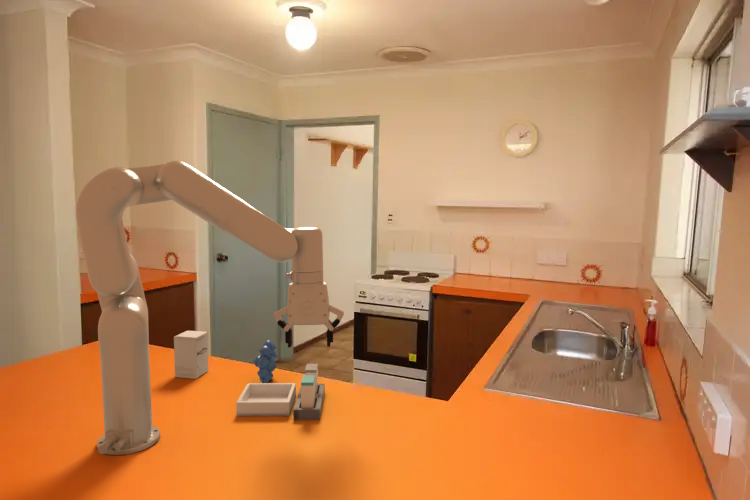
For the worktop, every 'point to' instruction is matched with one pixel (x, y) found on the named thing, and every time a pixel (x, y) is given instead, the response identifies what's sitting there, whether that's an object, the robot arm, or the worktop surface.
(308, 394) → the block
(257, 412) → the tray
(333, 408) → the worktop surface
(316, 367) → the block
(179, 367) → the supplement box
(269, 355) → the grapes
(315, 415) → the frame
